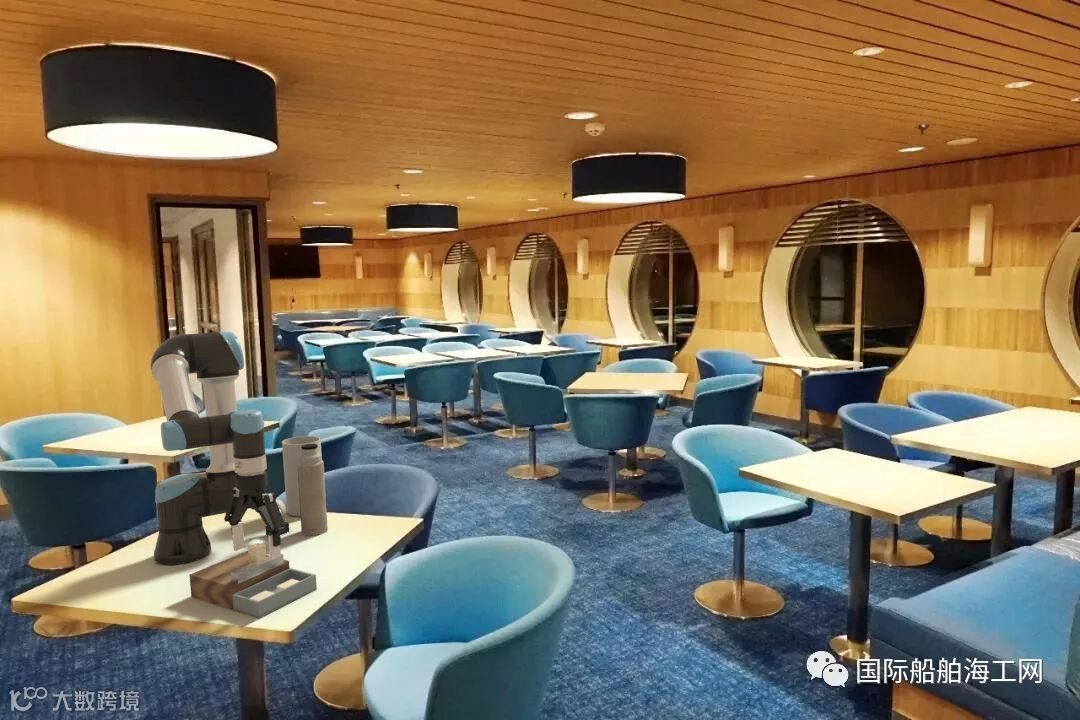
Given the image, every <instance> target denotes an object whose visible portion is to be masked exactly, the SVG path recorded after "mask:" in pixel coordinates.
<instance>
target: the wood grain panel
mask: <svg viewBox="0 0 1080 720" xmlns="http://www.w3.org/2000/svg"><path fill="white" fill-rule="evenodd" d="M268 556H269V555H267V554H266V557H268ZM247 565H249V558H248V550H246V551H244V552H242V553H239V554H237V555H235V556H232V557H229V558H226V559H224V560H222V561H219V562H217V563H215V564H212V565H210V566H207V567H205V568H202V569H200V570H197V571H195V572H192V573H191V574H189V587H190V597H191V598H193V599H197V600H199V601H202V602H206V603H208V604H212V605H216V606H218V607H222V608H225V609H229V610H231V611H234V610H233V599H232V595H233V594H235V593H237V592H239V591H241V590H244V589H246V588H248V587H250V586H252V585H255V584H257V583H259V582H261V581H263V580H266V579H268V578H270V577H272V576H274V575H276V574H279V573H281V572H283V571H285V570H287V569H290V568H291V567H290V560H288V559H284V564H282V565H279V566H277V567H275V568H273V569H271V570H268V571H266V572H264V573H262V574H259V575H257V576H255V577H253V578H250V579H248V580H246V581H244V582H241V583H239V584H238V583H234V582H232V578H231V572H233V571H235V570H237V569H240V568H242V567H244V566H247Z"/></svg>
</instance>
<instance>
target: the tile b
mask: <svg viewBox="0 0 1080 720" xmlns="http://www.w3.org/2000/svg"><path fill="white" fill-rule="evenodd" d="M297 582H299V581H298V580H294V579H291V580H288V581H286V582H284V583H282V584H280V585H278V586H276V588H277V592H278V591H281V590H283V589H285V588H287V587H289V586H291V585H293V584H295V583H297Z"/></svg>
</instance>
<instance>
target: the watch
mask: <svg viewBox="0 0 1080 720" xmlns="http://www.w3.org/2000/svg"><path fill="white" fill-rule="evenodd" d="M276 503H277V505H278V508H279V510H280V513H281V515H282V518H283V520H284V523H285V525H286V530H285V531H282V532H281V533H280V535H282V534H284V535H286V534H288V533H287V532H289V533H290V523H289V522H288V521H287V522H286V520H287V518H288V513H287V507H286V504H285V502H284V501H283V500H281V499H279V498H276ZM280 527H281V526H280ZM264 528H265V536H266V535H267V536H266V537H268V534H270V531H269V529H268V528H267V526H266V525H265V526H264ZM273 528H274V527H273ZM285 533H286V534H285ZM282 536H283V535H282Z"/></svg>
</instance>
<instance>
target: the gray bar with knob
mask: <svg viewBox="0 0 1080 720" xmlns="http://www.w3.org/2000/svg"><path fill="white" fill-rule="evenodd" d="M266 547H267V546H266V544H263V543H258V542H256V543H254V544H252V545H249V546H247V551H248V558H249V565H247V566H244V567H242V568H240V569H237V570H235V571H233V572H231V578H232V582H234V583H238V584H239V583H241V582H244V581H246V580H248V579H250V578H253V577H255V576H257V575H259V574H262V573H264V572H266V571H268V570H271V569H273V568H275V567H277V566H279V565H282V564H284V560H285V559H284V553H283V554H282V553H281V557H278V558H276V559H274V560H270V555H268V557H266V555H267V549H266Z"/></svg>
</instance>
